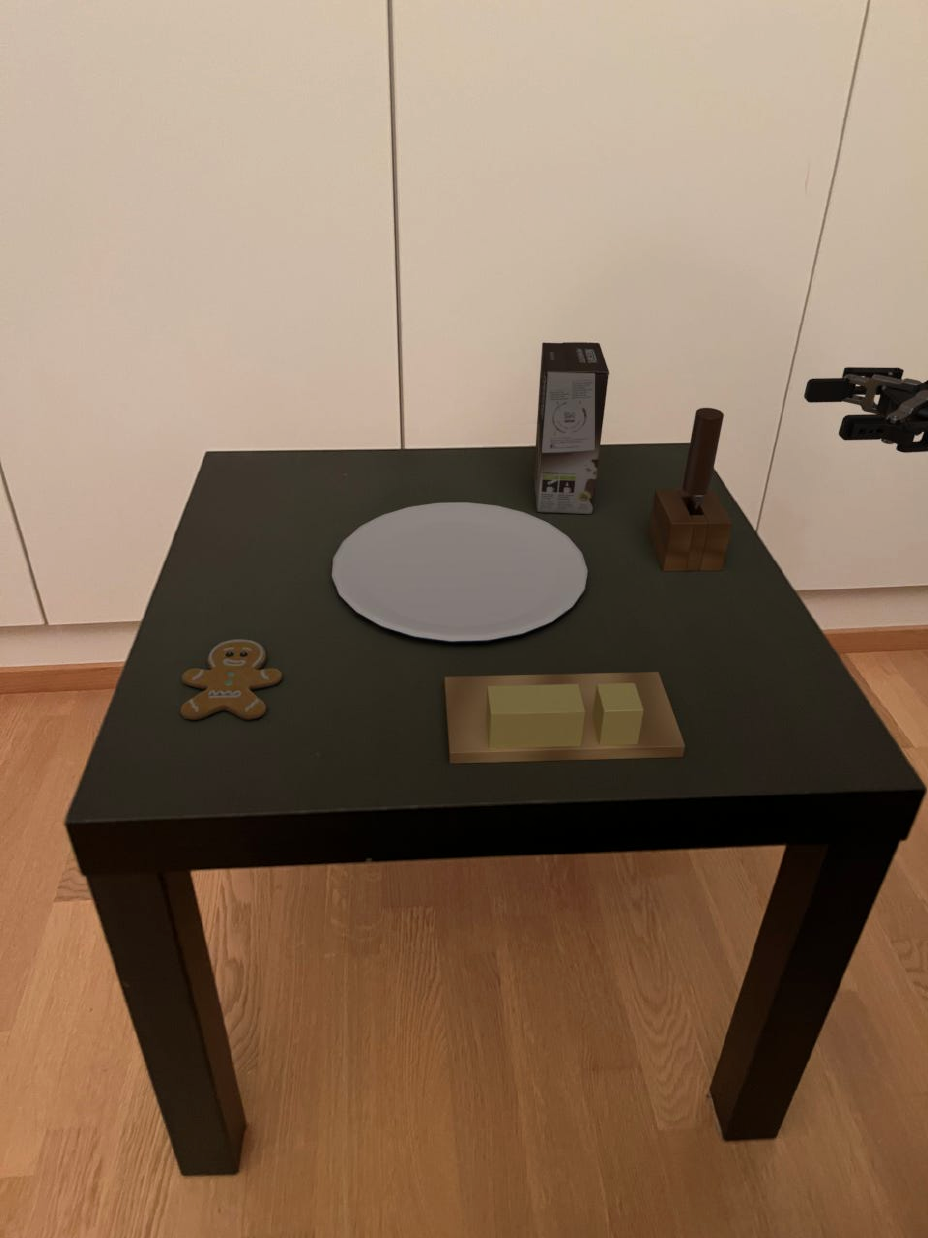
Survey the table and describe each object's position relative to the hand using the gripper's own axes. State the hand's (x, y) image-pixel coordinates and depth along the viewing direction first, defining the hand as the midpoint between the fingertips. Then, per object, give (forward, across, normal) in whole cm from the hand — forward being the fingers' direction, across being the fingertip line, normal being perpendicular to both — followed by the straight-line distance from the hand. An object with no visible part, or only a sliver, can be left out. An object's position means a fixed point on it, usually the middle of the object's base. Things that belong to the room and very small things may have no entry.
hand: (823, 408), depth 89 cm
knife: (+11, 0, +16) cm, 19 cm away
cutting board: (+28, +25, +15) cm, 41 cm away
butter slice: (+24, +28, +14) cm, 39 cm away
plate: (+34, +3, +16) cm, 38 cm away
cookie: (+55, +18, +15) cm, 60 cm away
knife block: (+11, 0, +16) cm, 19 cm away
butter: (+31, +27, +14) cm, 44 cm away
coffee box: (+22, -13, +16) cm, 30 cm away
